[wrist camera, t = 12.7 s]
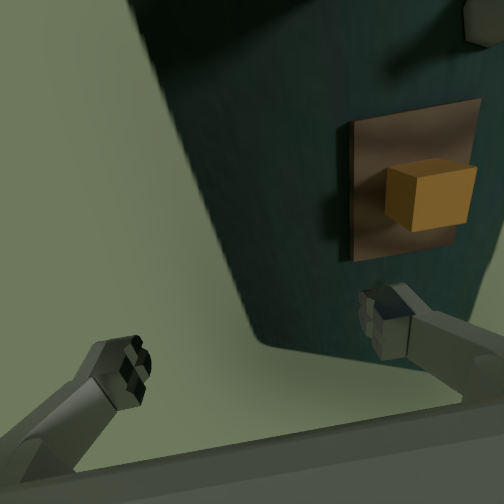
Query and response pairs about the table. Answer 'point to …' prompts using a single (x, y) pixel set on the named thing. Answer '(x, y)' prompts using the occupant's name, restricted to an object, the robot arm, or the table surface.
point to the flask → (484, 22)
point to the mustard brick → (429, 193)
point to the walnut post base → (397, 153)
